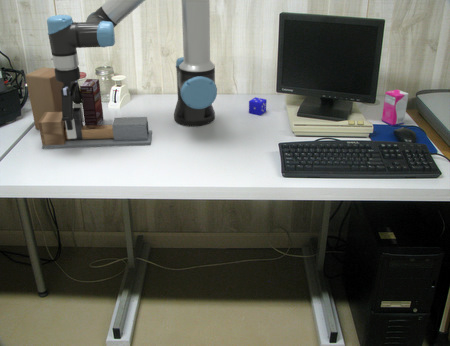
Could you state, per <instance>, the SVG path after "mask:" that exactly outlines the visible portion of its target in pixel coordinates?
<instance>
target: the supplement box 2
mask: <svg viewBox="0 0 450 346" xmlns="http://www.w3.org/2000/svg"><path fill="white" fill-rule="evenodd" d="M408 98H409V93H408V92H405V91H403V90H399V89H392V90H389V91H385V94H384V101H383V108H382V117H381V122H383V123H385V124H387V125H388V126H391V127H395V126H398V125H399V126H400V125H404V124H405V119H406V112H407V111H406V110H407V106H408Z"/></svg>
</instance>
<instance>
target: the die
mask: <svg viewBox="0 0 450 346" xmlns="http://www.w3.org/2000/svg"><path fill="white" fill-rule="evenodd" d="M266 112H267V98H266V99H265V98H261V97H253V98H252V99H250V100H249V101H248V114H251V115H256V116H262V115H263V114H264V113H266Z"/></svg>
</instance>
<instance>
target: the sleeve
mask: <svg viewBox="0 0 450 346" xmlns="http://www.w3.org/2000/svg"><path fill="white" fill-rule="evenodd" d="M148 119H149V118H148V116H135V117H134V116H128V117H127V116H126V117H114V119H113V121H112V124H111V125H112V128H113V136H114V141H145V140H148V137H147V134H149V130H150V129H149V120H148Z"/></svg>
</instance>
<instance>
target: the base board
mask: <svg viewBox="0 0 450 346" xmlns="http://www.w3.org/2000/svg"><path fill="white" fill-rule="evenodd" d="M148 130H149V134H147V137H148V140H145V141H114V138H103V139H83V140H65V141H66V142H65V144H64V145H42V144H41V147H42V149H45V150H46V149H48V150H49V149H73V148H74V149H77V148H78V149H81V148H104V147H107V148H109V147H136V146H139V147H140V146H151V144H152V143H151V142H152V135H153V130H150V129H148Z"/></svg>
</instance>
